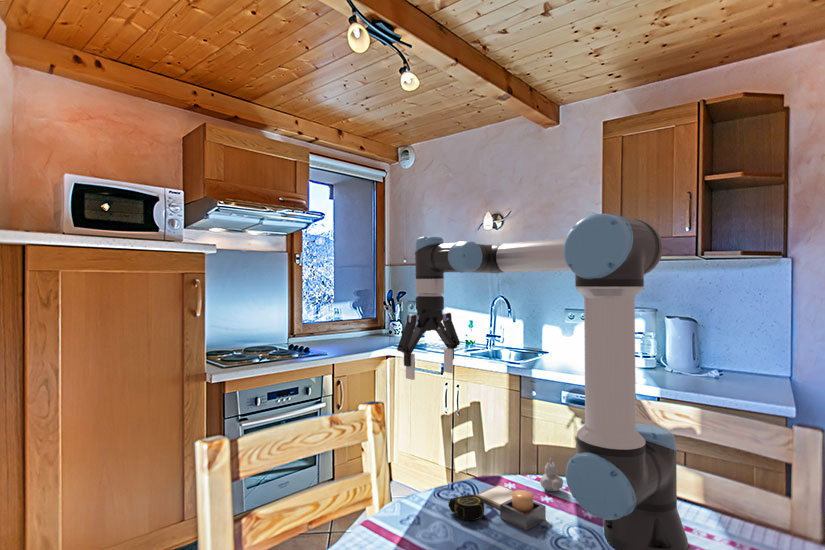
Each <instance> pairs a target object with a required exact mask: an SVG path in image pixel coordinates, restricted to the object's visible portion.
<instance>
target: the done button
mask: <svg viewBox="0 0 825 550" xmlns="http://www.w3.org/2000/svg"><path fill="white" fill-rule="evenodd" d="M533 501H534V494H533V493H532V492H530V491H528V490H525V489H523V490H522V489H517V490H514V492H513V493H512V508H514V509H516V510H518V511H521V512H523V513H525V514H526V513H528V512H530V511H532V510H533Z"/></svg>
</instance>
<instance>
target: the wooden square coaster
mask: <svg viewBox="0 0 825 550" xmlns="http://www.w3.org/2000/svg"><path fill="white" fill-rule="evenodd" d="M514 491H515V490H514V489H512V488H509V487H506V486H504V485H502V484H497V485H495V486H492V487H490V488H488V489H485V490H483V491H481V492H478V493H477V494H474V495H475V496H478V497H480V498H482V500H483V502H484V504H486V505H487V504H488V505H489V506H491V507H494V508H495V509H497V510H500V504H502V503H504V502H506V501H508V500H510V499H512V493H513V492H514Z"/></svg>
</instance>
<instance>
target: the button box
mask: <svg viewBox="0 0 825 550" xmlns="http://www.w3.org/2000/svg"><path fill="white" fill-rule="evenodd" d="M499 511H500V512H499V517H500V519H502V520H503V521H505V522H507V523H510V524H512V525H514V526H516V527H518V528H520V529H522V530H524V531H529V530H530V529H532V528H534V527H535V526H537V525H539V524H541V523H543V522H544V521H546V511H547V510H546V505H544V504H542V503H539V502H537V501H534V500H533V510H532V511H530V512H528V513H526V514H525V513H523V512H521V511H518V510H516V509H514V508H512V499H510V500H508V501H506V502H504V503H502V504H500V509H499Z"/></svg>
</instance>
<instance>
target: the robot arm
mask: <svg viewBox="0 0 825 550" xmlns="http://www.w3.org/2000/svg"><path fill="white" fill-rule="evenodd" d="M663 247H664V245H663V240H662V237H661V234H659V232H658V231H657V229H656V228H655V227H654V226H652V225H651V224H650V223H648V222H646V221H645V220H644V221H643V220H640V219H636V218H630V217H626V216H622V215H619V214H616V213H595V214H591V215H587V216H585V217H583V218H582V219H580V220H579V221H578V222H576V223H575V224H574V226H572V227H571V229H570V230H569V231H568V233H567V235H566V237H562V238H561V237H560V238H550V239H540V240H530V241H521V242H505V243H497V244H483V243H482V244H481V243H476V242H474V241H472V240H470V241H465V240H460V241H457V242H456V241H455V242H448V243H444V239H443V237H442V236H441V237H440V236H421V237H418V238H417V239H416V240H415V249H414V250H415V251H414V256H415V258H414V259H415V260H414V261H415V262H414V263H415V294H416V295H417V296H416V297H415V310H416V312H417V313H416V314H410V313H408V314H407V316H406V324H405V326H404V329H403V332H402V334H401V337H400V340H399V342H398V344H397V347H396V350H397V352H401V353H402V354H403V365H404V367H405V379H407V380H411V381H413V380H415V379H416V377H415V376H416V375H415V374H416V369H415V367H416V366H415V365H416V364H415V362H416V360H415V359H416V355H415V353H413V351H414V350H415V349H416V347H417V345H418V343H419V342H420V339H421V338H422V337H423V334H424V333H426V332H431V331H435V332H436V333H437V335H438V336H439V337H440V339H441V341H442V342H443V344H444V345H445V347H444V348H443V372H444V373H448V374H453V373H454V359H455V349H457V348H458V346H460V345H461V341H460V339H459V336H458V333H457V332H456V331H457V330H456V329H455V325H454V323H453V320H452V319H453V318H452V313H451V312H446V311H443V310H444V309H445V302H444V301H445V298H444V296H443V295H444V293H445V290H444V289H445V288H444V287H445V286H444V284H445V281H444V278H445V273H474V274H475V273H478V274H479V273H480V274H481V273H482V274H483V273H484V274H502V273H523V272H526V273H527V272H528V273H529V272H554V271H555V272H557V271H559V272H560V271H571V272H572V273H573V274H575V275H574V277H575V278H574V279H575V281H574V282H575V283H574V284H575V285H574V286H575V289H576V290H577V291H578V292H579V293H580V295H582V296H583V304H584V306H583V308H584V309H583V310H584V312H583V313H584V315H583V317H584V318H583V319H584V321H583V322H584V329H583V330H584V413H585V414H584V422H585V423H584V425H582V426H581V428H579V429H577V431H576V453H575V454H574V455H573V456H572V457H571V458H570V459H569V461H568V462H567V464H566V466H565V467H566V468H565V481H566V485H567V487H568V491H569V492H570V494H571V496H572V497H573V499H574V500H576V501H577V503H578V505H579V506H580V508H582V509H583V510H585V512H587V513H588V514H590V515H592V516H593V517H595V518H598V519H600V520H604V521H603V535H604V538H605V540H606V541H607V543H608V544H610V546H612V547H613V548H614V549H616V550H689V548H688V547H689V541H688V537H687V533H686V531H685V528H684V525H683V522H682V520H681V516H680V514H679V512H678V511H679V510H678V501H677V500H678V499H677V498H678V497H677V496H678V494H677V491H678V490H677V488H678V487H677V484H678V483H677V478H678V477H677V453H678V449H677V443H676V437H675V435H674V434H673V433H672V432H670V431H669V430H667V429H663V428H661V427H658V426H653V425H649V424H644V423H643V424H642V423H636V422H637V415H636V414H637V413H636V409H637V407H636V406H637V405H636V399H637V397H636V325H635V324H636V320H635V319H636V317H635V316H636V310H635V307H636V304H635V301H636V300H635V298H636V296H637V295H638V294H640V292H642V290H644V287H645V284H644V283H645V281H644V280H645V278H644V276H646V274H649V273H651V272H652V270H654V269H655V268H656V267H657V265H658V264H659V263H660V262H661V261H660V260H661V259H662V256H663V251H664V248H663Z"/></svg>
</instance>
